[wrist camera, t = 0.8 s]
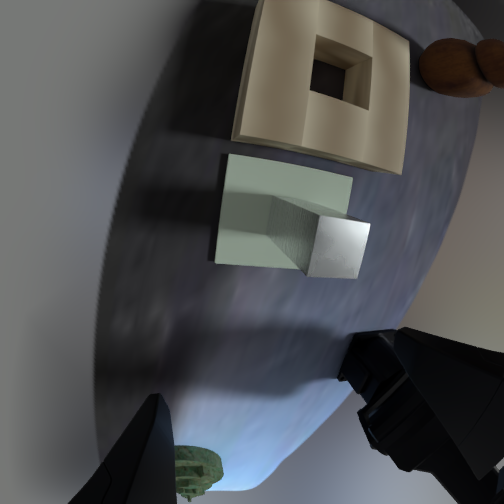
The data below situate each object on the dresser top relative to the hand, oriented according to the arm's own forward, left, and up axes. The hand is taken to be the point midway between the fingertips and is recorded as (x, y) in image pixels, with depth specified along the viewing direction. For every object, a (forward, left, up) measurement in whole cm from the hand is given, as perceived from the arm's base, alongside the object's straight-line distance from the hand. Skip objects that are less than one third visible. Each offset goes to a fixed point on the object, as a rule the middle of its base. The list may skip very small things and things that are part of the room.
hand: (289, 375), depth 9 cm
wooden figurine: (-18, -21, -13) cm, 31 cm away
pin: (-4, -3, -13) cm, 14 cm away
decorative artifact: (+3, +31, -14) cm, 34 cm away
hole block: (-5, -14, -13) cm, 20 cm away
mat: (-4, -3, -13) cm, 14 cm away
